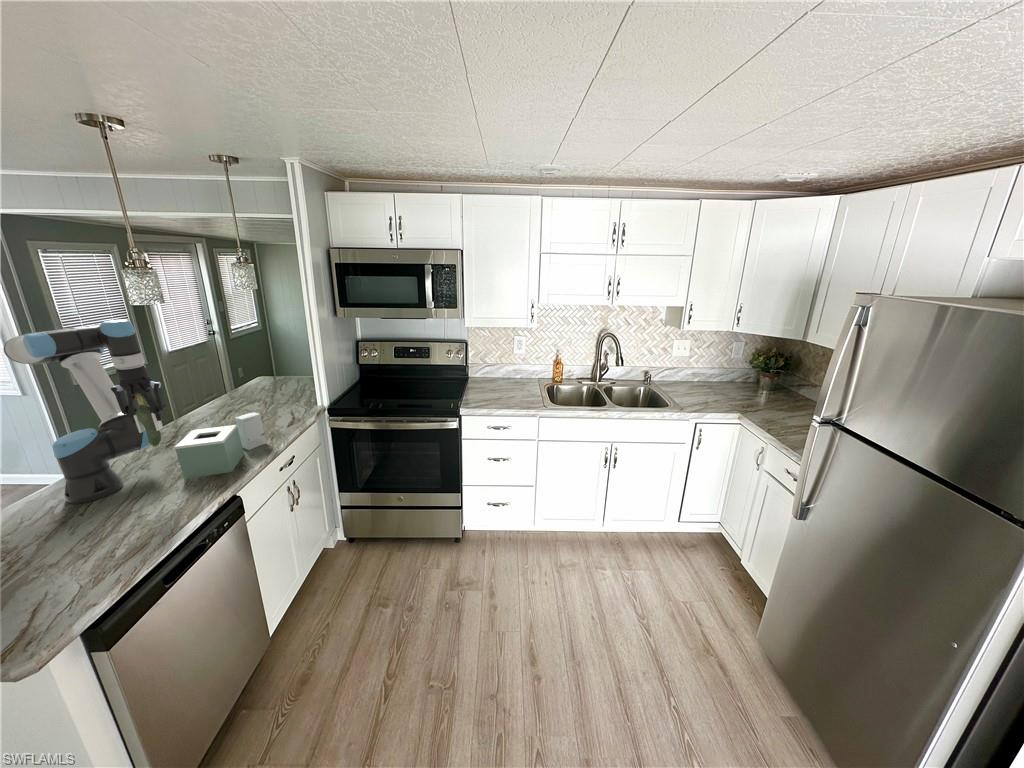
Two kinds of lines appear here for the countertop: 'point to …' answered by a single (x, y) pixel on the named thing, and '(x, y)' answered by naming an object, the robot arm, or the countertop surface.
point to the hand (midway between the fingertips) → (151, 430)
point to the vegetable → (148, 421)
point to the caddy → (209, 451)
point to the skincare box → (250, 430)
